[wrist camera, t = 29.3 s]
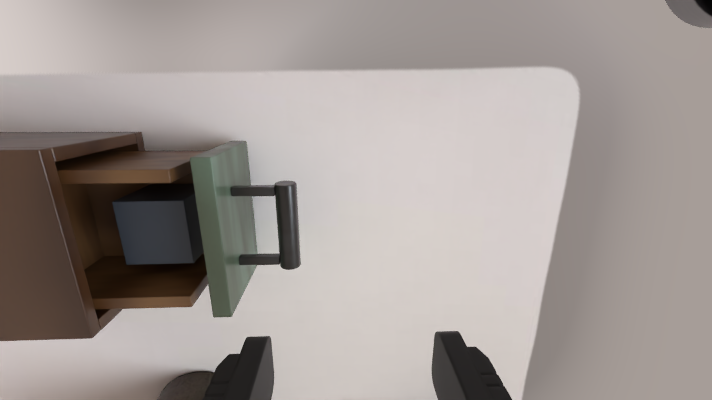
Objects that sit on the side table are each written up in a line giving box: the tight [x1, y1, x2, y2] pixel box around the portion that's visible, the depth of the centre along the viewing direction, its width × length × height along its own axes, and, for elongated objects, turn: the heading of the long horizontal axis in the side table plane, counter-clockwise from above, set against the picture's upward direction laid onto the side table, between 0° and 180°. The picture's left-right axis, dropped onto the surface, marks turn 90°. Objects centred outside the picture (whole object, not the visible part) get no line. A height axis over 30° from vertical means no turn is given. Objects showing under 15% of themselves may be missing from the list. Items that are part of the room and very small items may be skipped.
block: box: [112, 184, 204, 265], centre depth 23 cm, size 4×4×4 cm
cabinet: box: [0, 132, 145, 341], centre depth 22 cm, size 14×12×9 cm
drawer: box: [55, 141, 301, 317], centre depth 23 cm, size 17×10×7 cm, turn 90°
